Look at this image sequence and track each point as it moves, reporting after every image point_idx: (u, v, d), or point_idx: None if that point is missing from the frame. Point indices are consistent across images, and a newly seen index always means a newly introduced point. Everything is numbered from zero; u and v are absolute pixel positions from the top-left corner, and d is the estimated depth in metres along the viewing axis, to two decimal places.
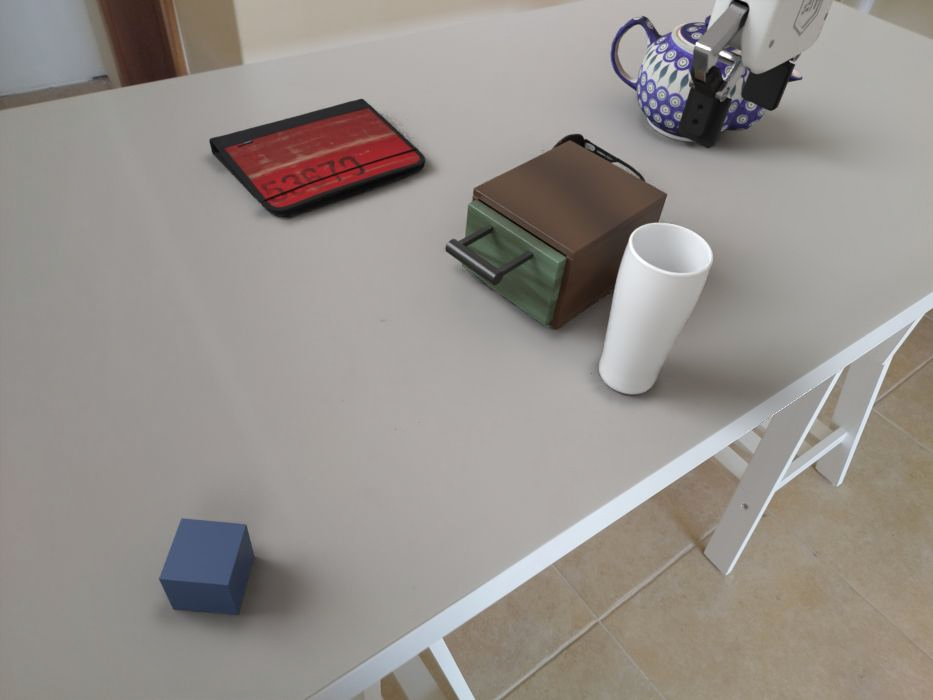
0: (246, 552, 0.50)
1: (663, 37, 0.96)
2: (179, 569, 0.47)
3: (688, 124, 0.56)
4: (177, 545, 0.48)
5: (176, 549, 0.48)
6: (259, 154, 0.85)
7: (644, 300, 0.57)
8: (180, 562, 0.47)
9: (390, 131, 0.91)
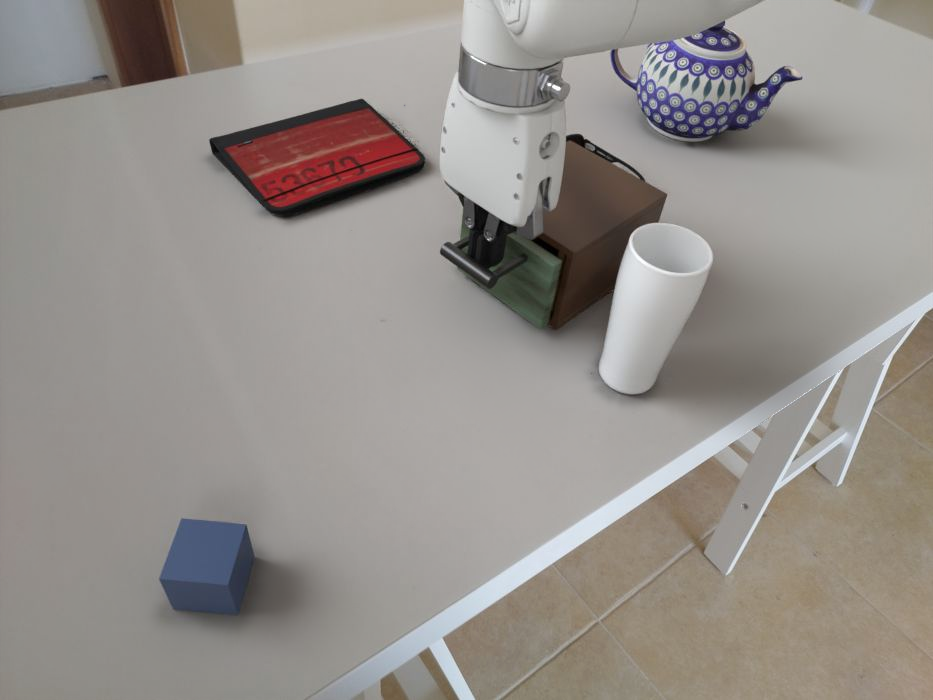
0: (246, 552, 0.50)
1: None
2: (179, 569, 0.47)
3: (493, 261, 0.65)
4: (177, 545, 0.48)
5: (176, 549, 0.48)
6: (259, 154, 0.85)
7: (644, 300, 0.57)
8: (180, 562, 0.47)
9: (390, 131, 0.91)
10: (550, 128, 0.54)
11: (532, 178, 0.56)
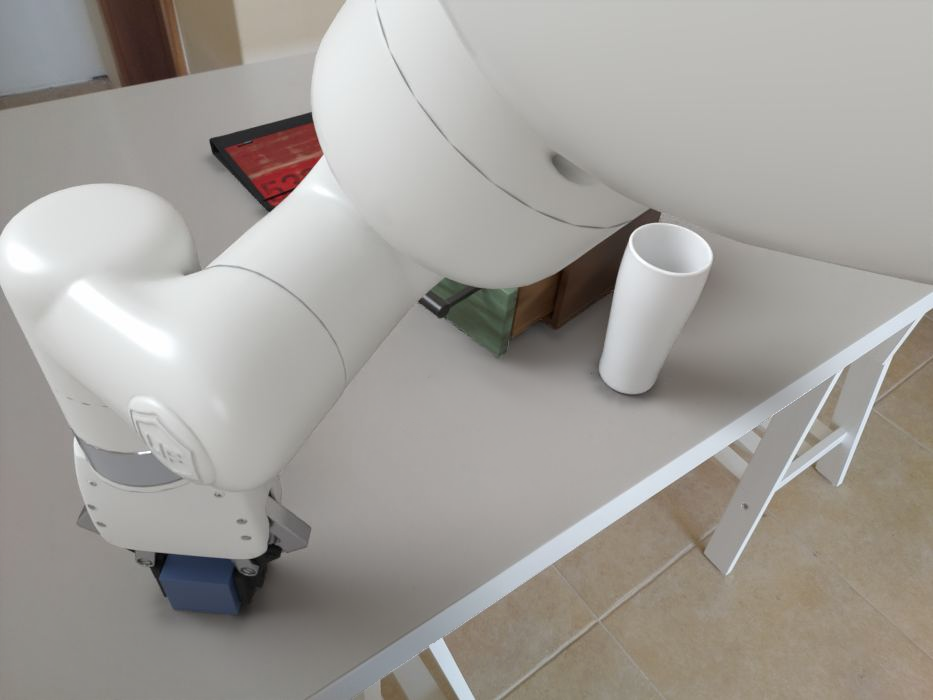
0: None
1: None
2: (179, 569, 0.47)
3: (262, 582, 0.50)
4: None
5: None
6: (259, 154, 0.85)
7: (644, 300, 0.57)
8: (180, 562, 0.47)
9: None
10: None
11: (257, 512, 0.41)
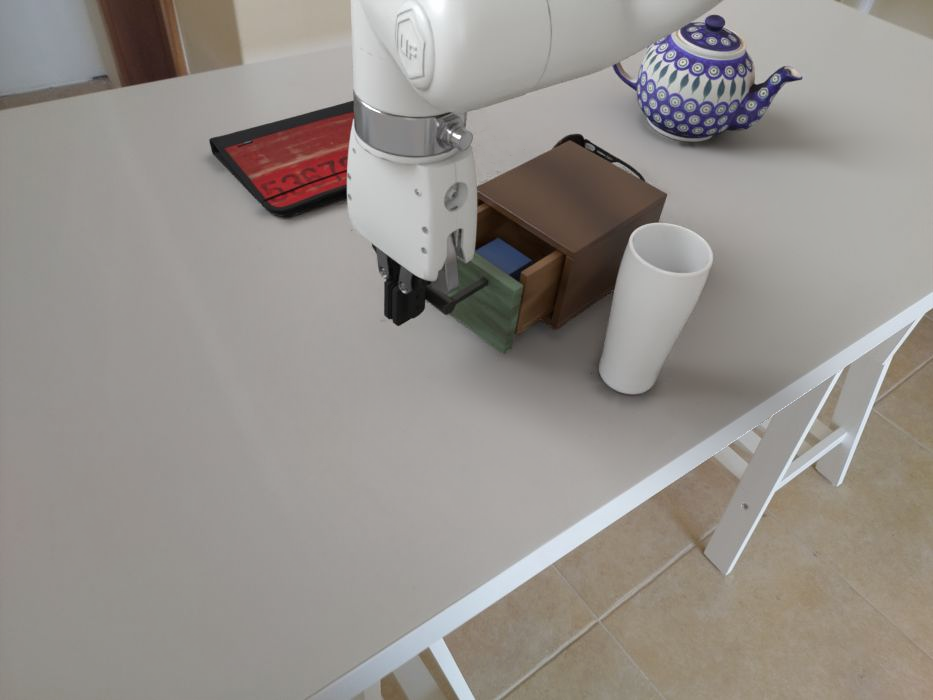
0: None
1: None
2: None
3: (412, 313, 0.60)
4: (486, 247, 0.69)
5: (484, 249, 0.69)
6: (259, 154, 0.85)
7: (644, 300, 0.57)
8: (482, 255, 0.68)
9: None
10: (455, 179, 0.49)
11: (439, 231, 0.51)
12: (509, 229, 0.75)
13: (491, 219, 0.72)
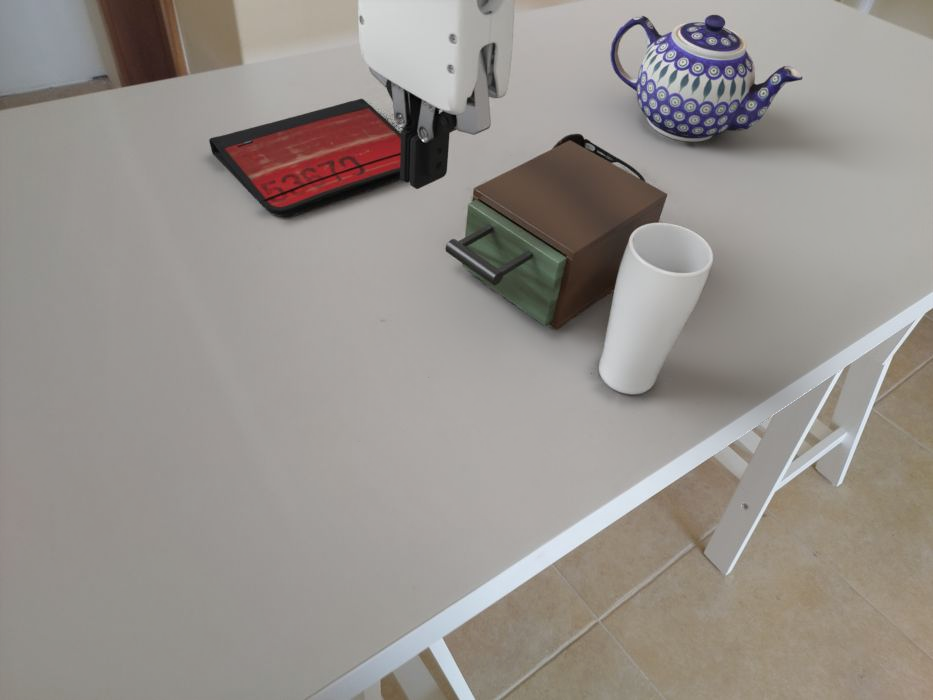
0: None
1: (663, 37, 0.96)
2: None
3: (433, 172, 0.52)
4: None
5: None
6: (259, 154, 0.85)
7: (644, 300, 0.57)
8: None
9: (390, 131, 0.91)
10: None
11: (469, 41, 0.42)
12: None
13: None
